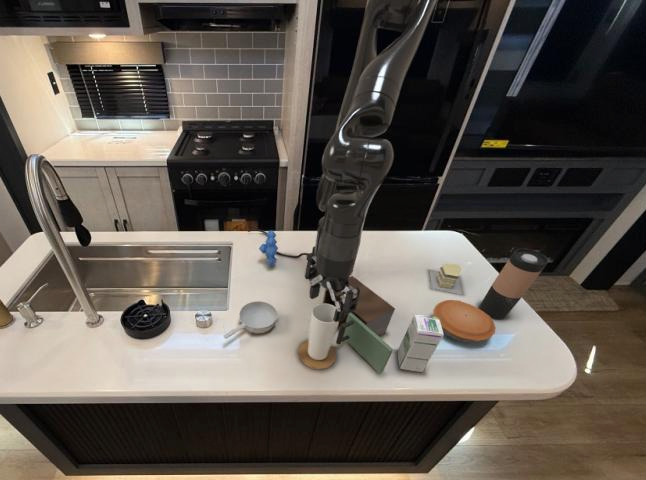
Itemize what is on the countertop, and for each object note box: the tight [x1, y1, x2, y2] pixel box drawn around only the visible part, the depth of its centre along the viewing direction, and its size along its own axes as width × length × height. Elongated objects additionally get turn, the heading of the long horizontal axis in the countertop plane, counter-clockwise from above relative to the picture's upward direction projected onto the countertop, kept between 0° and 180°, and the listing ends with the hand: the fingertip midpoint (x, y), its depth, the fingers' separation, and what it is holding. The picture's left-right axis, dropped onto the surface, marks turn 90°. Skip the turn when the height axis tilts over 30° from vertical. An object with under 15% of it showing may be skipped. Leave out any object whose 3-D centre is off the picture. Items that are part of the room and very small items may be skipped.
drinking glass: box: [308, 302, 339, 360], centre depth 78 cm, size 7×7×15 cm
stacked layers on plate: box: [429, 263, 463, 295], centre depth 103 cm, size 10×9×6 cm
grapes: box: [258, 229, 279, 268], centre depth 110 cm, size 12×7×12 cm, turn 2°
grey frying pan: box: [223, 300, 278, 339], centre depth 89 cm, size 11×18×4 cm, turn 134°
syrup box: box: [396, 313, 445, 373], centre depth 76 cm, size 6×6×14 cm
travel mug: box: [478, 248, 549, 320], centre depth 88 cm, size 8×8×20 cm
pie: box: [432, 299, 496, 343], centre depth 88 cm, size 15×16×5 cm
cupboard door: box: [335, 313, 394, 375], centre depth 79 cm, size 14×5×9 cm, turn 30°
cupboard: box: [322, 275, 396, 338], centre depth 88 cm, size 16×10×10 cm, turn 30°
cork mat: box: [298, 339, 337, 370], centre depth 83 cm, size 10×10×1 cm
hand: (325, 308), depth 72 cm, fingers open, 8 cm apart
